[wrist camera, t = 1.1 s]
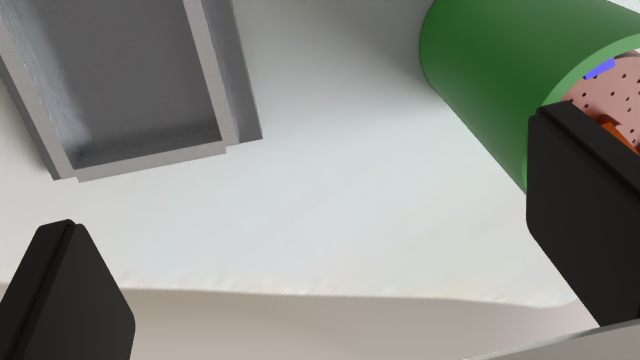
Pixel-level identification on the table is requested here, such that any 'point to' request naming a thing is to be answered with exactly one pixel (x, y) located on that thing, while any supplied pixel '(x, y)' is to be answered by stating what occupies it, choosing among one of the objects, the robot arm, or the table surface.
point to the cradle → (126, 82)
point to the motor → (533, 67)
